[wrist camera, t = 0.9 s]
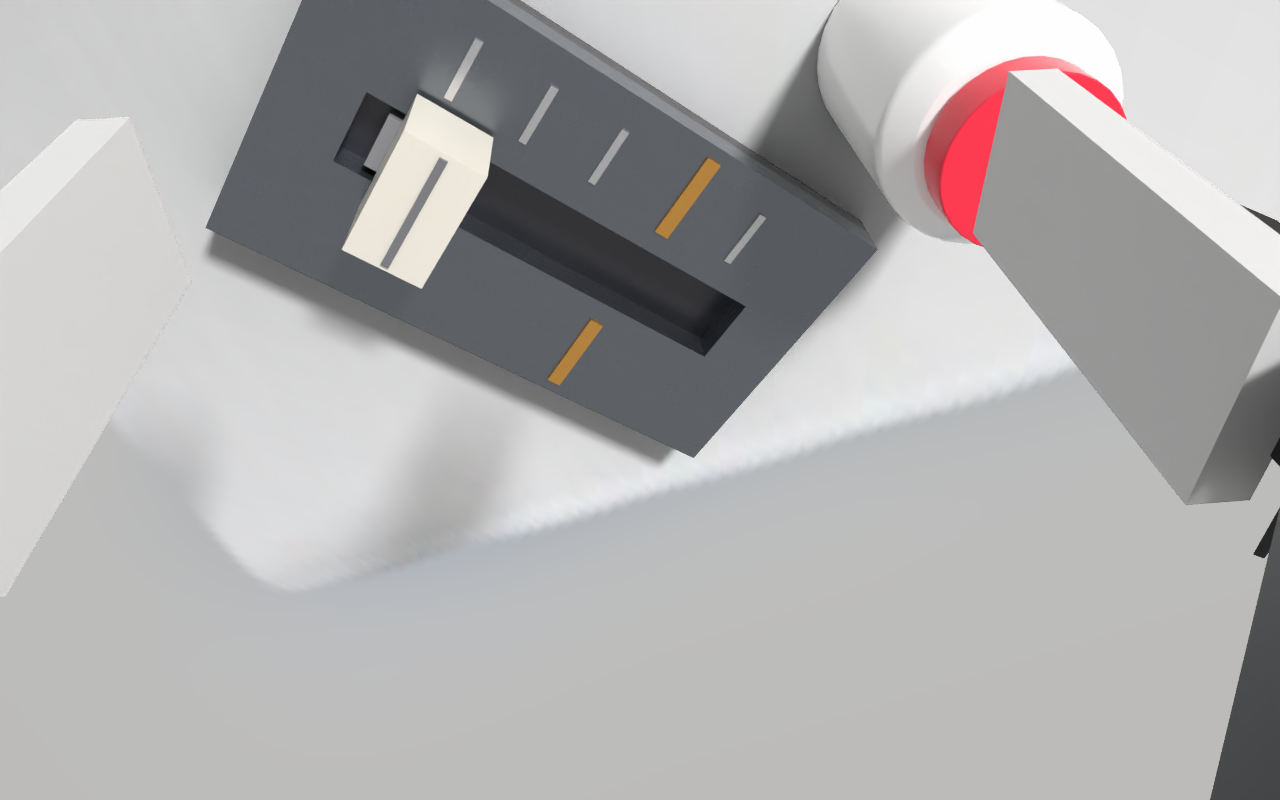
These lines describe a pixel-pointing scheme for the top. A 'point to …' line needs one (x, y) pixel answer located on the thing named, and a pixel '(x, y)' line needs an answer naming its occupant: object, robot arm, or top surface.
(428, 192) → the fader
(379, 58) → the console
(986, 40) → the pill bottle
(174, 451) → the top surface
